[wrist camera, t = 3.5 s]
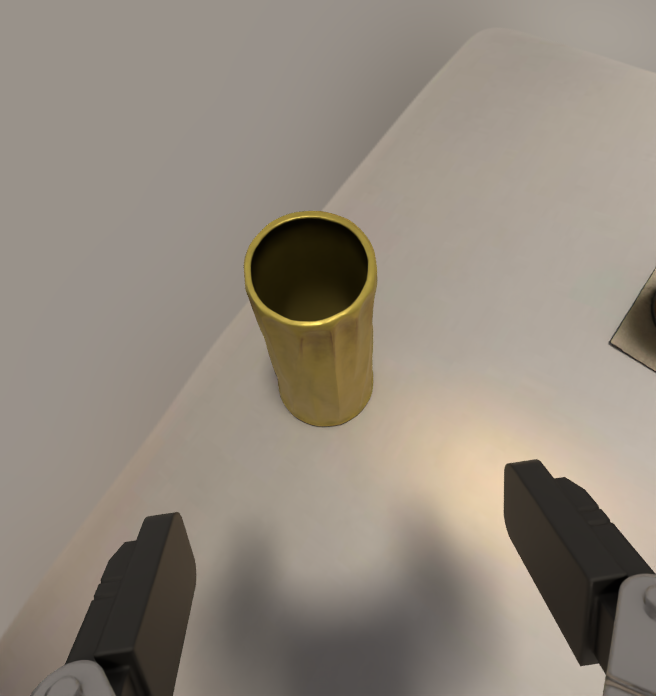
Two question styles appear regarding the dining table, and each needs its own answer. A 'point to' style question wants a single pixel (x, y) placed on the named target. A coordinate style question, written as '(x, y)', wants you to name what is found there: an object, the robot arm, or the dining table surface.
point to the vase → (315, 312)
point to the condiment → (640, 327)
